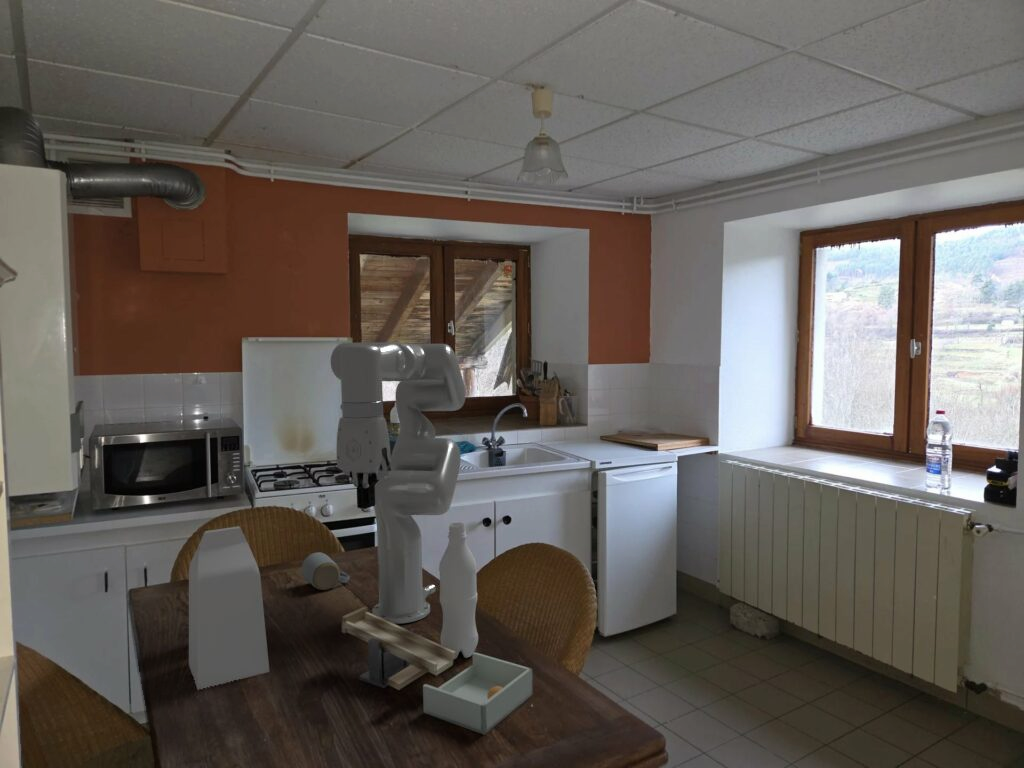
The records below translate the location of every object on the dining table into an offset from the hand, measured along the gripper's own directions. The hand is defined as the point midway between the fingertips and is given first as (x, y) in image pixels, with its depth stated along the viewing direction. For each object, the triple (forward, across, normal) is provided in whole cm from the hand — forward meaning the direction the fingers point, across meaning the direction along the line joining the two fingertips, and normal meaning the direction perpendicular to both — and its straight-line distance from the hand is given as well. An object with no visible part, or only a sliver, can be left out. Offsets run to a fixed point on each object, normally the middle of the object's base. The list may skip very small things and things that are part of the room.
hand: (366, 506), depth 132 cm
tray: (+28, +29, -5) cm, 41 cm away
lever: (+23, +11, -8) cm, 27 cm away
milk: (+29, -18, -18) cm, 39 cm away
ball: (+26, +32, -5) cm, 42 cm away
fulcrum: (+28, +9, -5) cm, 30 cm away
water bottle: (+29, +15, +8) cm, 33 cm away
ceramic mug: (+30, -36, +22) cm, 52 cm away
